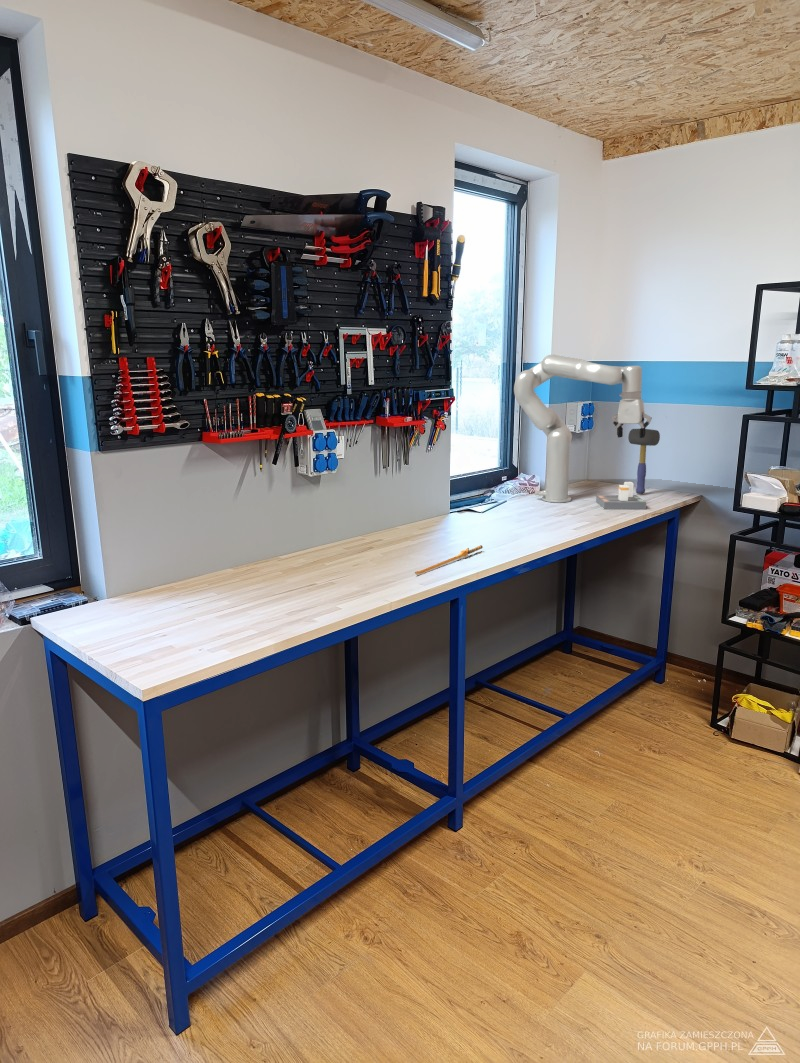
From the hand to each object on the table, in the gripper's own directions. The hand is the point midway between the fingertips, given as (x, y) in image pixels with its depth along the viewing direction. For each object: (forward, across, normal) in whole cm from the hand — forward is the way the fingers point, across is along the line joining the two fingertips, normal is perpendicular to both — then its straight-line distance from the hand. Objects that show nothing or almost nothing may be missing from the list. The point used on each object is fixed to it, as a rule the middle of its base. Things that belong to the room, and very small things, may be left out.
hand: (630, 437), depth 303 cm
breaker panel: (+28, -1, -6) cm, 29 cm away
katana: (+27, -1, -123) cm, 125 cm away
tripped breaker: (+25, +1, -9) cm, 27 cm away
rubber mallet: (+29, -6, +24) cm, 38 cm away
